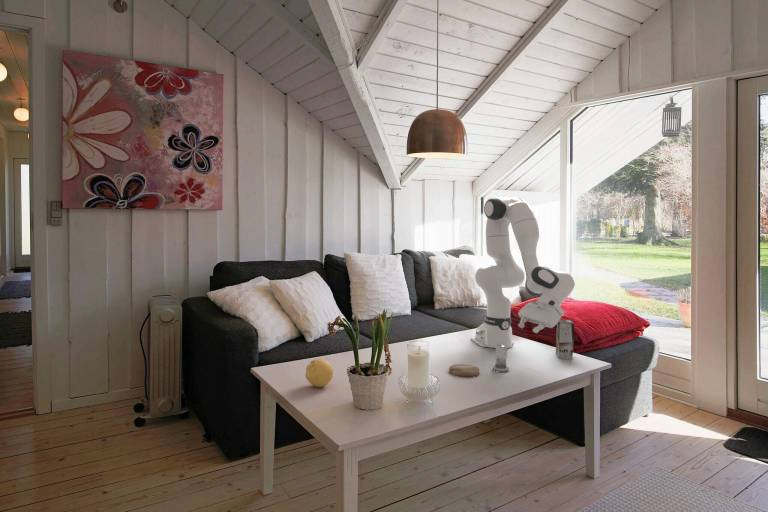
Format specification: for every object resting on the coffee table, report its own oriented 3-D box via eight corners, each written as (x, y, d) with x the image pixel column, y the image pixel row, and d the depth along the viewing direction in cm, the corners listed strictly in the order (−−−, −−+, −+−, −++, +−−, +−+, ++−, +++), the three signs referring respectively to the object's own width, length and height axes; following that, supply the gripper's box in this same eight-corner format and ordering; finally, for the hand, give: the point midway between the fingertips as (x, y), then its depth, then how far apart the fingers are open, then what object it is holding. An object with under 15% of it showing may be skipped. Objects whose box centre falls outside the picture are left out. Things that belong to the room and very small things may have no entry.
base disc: (443, 369, 207) (443, 365, 207) (469, 366, 212) (469, 363, 212) (459, 378, 196) (459, 374, 196) (485, 375, 201) (485, 371, 200)
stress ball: (334, 386, 187) (321, 364, 192) (341, 371, 181) (327, 349, 186) (310, 395, 182) (298, 373, 186) (317, 381, 175) (303, 358, 180)
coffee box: (573, 359, 226) (575, 323, 224) (557, 358, 227) (559, 322, 225) (569, 353, 234) (571, 319, 233) (555, 352, 236) (556, 318, 234)
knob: (489, 368, 210) (490, 344, 209) (502, 366, 212) (503, 343, 211) (498, 373, 204) (499, 348, 203) (511, 371, 206) (512, 347, 205)
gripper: (527, 296, 223) (507, 319, 220) (559, 304, 204) (538, 329, 201) (535, 305, 225) (515, 329, 222) (567, 314, 206) (547, 340, 203)
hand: (527, 329), depth 211 cm, fingers open, 8 cm apart
